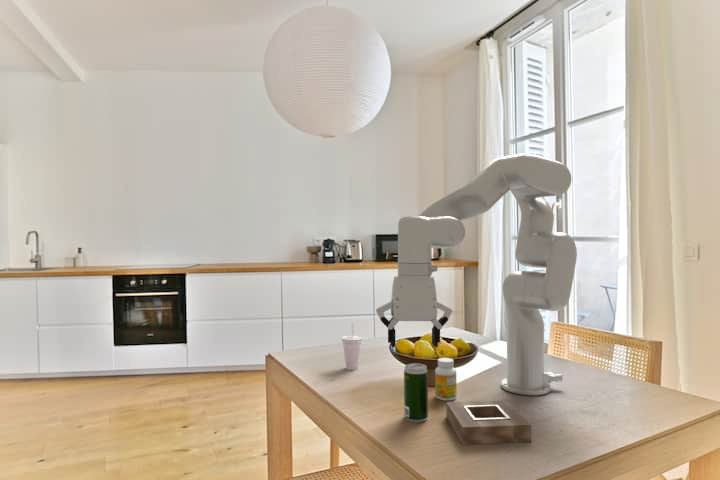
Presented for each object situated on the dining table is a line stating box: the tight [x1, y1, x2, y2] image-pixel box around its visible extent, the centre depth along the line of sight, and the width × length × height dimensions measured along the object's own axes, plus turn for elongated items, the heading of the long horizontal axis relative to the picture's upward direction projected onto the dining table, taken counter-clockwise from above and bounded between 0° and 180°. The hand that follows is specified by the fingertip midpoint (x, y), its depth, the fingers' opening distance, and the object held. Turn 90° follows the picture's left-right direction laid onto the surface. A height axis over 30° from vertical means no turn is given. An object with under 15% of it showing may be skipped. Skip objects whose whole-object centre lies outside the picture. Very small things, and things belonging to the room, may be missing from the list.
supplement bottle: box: [434, 357, 458, 402], centre depth 122 cm, size 5×5×10 cm
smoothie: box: [341, 323, 363, 371], centre depth 149 cm, size 6×6×14 cm
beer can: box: [403, 362, 429, 424], centre depth 109 cm, size 5×5×12 cm
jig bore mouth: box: [463, 405, 510, 421], centre depth 103 cm, size 8×8×1 cm
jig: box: [445, 399, 532, 446], centre depth 103 cm, size 14×14×4 cm
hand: (413, 345), depth 108 cm, fingers open, 9 cm apart
